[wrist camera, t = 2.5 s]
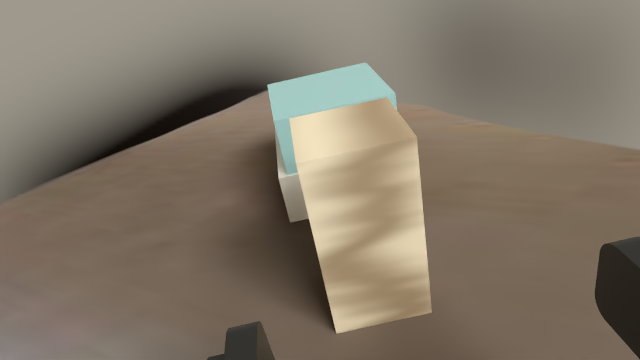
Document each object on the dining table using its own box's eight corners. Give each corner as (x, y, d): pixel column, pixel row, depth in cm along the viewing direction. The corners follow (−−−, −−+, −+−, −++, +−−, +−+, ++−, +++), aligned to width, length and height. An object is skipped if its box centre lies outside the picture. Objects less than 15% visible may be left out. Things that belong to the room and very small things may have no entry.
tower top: (287, 174, 31) (273, 121, 29) (278, 130, 38) (267, 84, 36) (401, 148, 32) (395, 92, 30) (372, 109, 39) (365, 62, 37)
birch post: (336, 333, 24) (295, 163, 19) (324, 269, 28) (289, 118, 23) (431, 312, 24) (416, 137, 19) (404, 252, 28) (387, 97, 23)
